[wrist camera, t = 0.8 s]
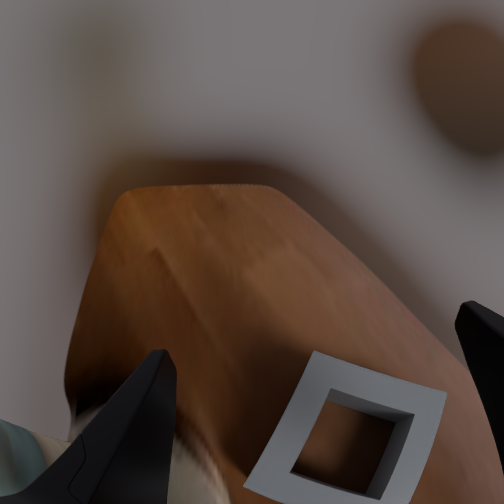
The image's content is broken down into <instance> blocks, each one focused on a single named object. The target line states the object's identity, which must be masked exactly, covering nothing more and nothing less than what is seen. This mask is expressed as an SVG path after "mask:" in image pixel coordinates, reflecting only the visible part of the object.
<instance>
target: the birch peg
mask: <svg viewBox="0 0 504 504" xmlns="http://www.w3.org/2000/svg"><path fill="white" fill-rule="evenodd" d="M70 445H71V443H69V442H66V441H62V440H58V439H54V438H51V437H47V436H44V435H41V434H37V433H34V432H31V431H28V430H26V429H24V428H22V427H20V426H17V425H14V424H11V423H9V422H6V421H4V420H1V419H0V496H6V495H11V494H15V493H17V492H19V491H21V490H23V489H25V488H26V487H27V486H29V485H30V484H31V483H32V482H33V481H34V480H35V479H36V478H37V477H38V476H39V475H40V474H42V473H43V472H44V471H45V470H46V469H47V468H48V467H49V466H50V465H51V464H52V463H53V462H54V461H55V460H56V459H57V458H58V457H59V456H60V455H61V454H62V453H63V452H64V451H65V450H66V449H67V448H68V447H69V446H70Z"/></svg>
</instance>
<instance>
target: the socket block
mask: <svg viewBox="0 0 504 504" xmlns="http://www.w3.org/2000/svg"><path fill="white" fill-rule="evenodd" d="M446 396H447V392H443V391H439V390H435V389H432V388H428V387H425V386H421V385H418V384H414V383H411V382H407V381H404V380H401V379H398V378H394V377H391V376H388V375H385V374H381V373H378V372H375V371H372V370H369V369H366V368H363V367H360V366H357V365H354V364H351V363H348V362H345V361H342V360H339V359H337V358H334V357H331V356H328V355H325V354H323V353H320V352H317V351H313V353H312V355H311V358H310V360H309V362H308V364H307V366H306V369H305V371H304V373H303V375H302V377H301V379H300V381H299V384H298V386H297V388H296V390H295V392H294V394H293V396H292V398H291V400H290V402H289V404H288V406H287V408H286V410H285V412H284V414H283V416H282V418H281V420H280V422H279V424H278V426H277V427H276V429H275V431H274V433H273V435H272V437H271V439H270V440H269V442H268V444H267V446H266V448H265V450H264V451H263V453H262V455H261V457H260V458H259V460H258V462H257V464H256V465H255V467H254V469H253V470H252V472H251V474H250V476H249V477H248V479H247V481H246V482H245V484H244V486H243V487H245V488H247V489H250V490H252V491H254V492H256V493H259V494H261V495H263V496H266V497H268V498H271V499H273V500H276V501H278V502H281V503H283V504H409V502H410V500H411V497H412V495H413V493H414V491H415V489H416V486H417V484H418V482H419V479H420V477H421V474H422V472H423V469H424V467H425V464H426V461H427V459H428V456H429V453H430V450H431V448H432V445H433V442H434V439H435V436H436V432H437V429H438V426H439V423H440V419H441V416H442V412H443V408H444V404H445V401H446ZM325 400H326V401H329V402H332V403H335V404H338V405H341V406H344V407H347V408H350V409H353V410H356V411H359V412H362V413H365V414H368V415H371V416H375V417H378V418H381V419H385V420H388V421H392V422H395V426H394V429H393V431H392V434H391V437H390V439H389V442H388V444H387V447H386V449H385V452H384V454H383V456H382V459H381V461H380V463H379V466H378V468H377V470H376V472H375V474H374V477H373V479H372V481H371V483H370V485H369V487H368V489H367V491H366V493H365V494H363V493H359V492H355V491H351V490H348V489H344V488H341V487H338V486H334V485H331V484H328V483H325V482H322V481H319V480H316V479H313V478H310V477H307V476H304V475H302V474H299V473H296V472H294V471H291V469H292V467H293V465H294V463H295V461H296V460H297V458H298V456H299V454H300V452H301V450H302V448H303V446H304V444H305V442H306V440H307V438H308V436H309V434H310V432H311V430H312V428H313V426H314V424H315V422H316V420H317V418H318V415H319V413H320V411H321V409H322V407H323V404H324V402H325Z"/></svg>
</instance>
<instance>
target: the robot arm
mask: <svg viewBox="0 0 504 504" xmlns="http://www.w3.org/2000/svg"><path fill="white" fill-rule="evenodd" d="M455 330H456V332H457V335H458V338H459V341H460V344H461V347H462V350H463V353H464V356H465V359H466V362H467V365H468V367H469V370H470V373H471V375H472V378H473V380H474V383H475V385H476V388H477V390H478V393H479V395H480V398H481V401H482V403H483V406H484V409H485V412H486V415H487V418H488V421H489V424H490V427H491V430H492V433H493V436H494V439H495V443H496V446H497V450H498V454H499V457H500V461H501V465H502V470H503V474H504V317H502V316H501V315H499V314H497V313H495V312H493V311H492V310H490V309H488V308H486V307H484V306H482V305H481V304H479V303H477V302H475V301H467V302H464V303H462V304H461V306H460V309H459V312H458V314H457V318H456V320H455ZM176 382H177V371H176V367H175V365H174V363H173V361H172V359H171V357H170V355H169V353H168V351H167V350H165V349H161V350H153V351H151V352H150V354H149V355H148V356H147V357H146V358H145V359H144V360H143V362H142V363H141V364H140V365H139V366H138V367H137V368H136V370H135V371H134V372H133V373H132V374H131V375H130V376H129V378H128V379H127V380H126V381H125V382H124V383H123V384H122V386H121V387H120V388H119V389H118V390H117V391H116V393H115V394H114V395H113V396H112V397H111V398H110V399H109V401H108V402H107V403H106V404H105V405H104V406H103V408H102V409H101V410H100V411H99V412H98V413H97V415H96V416H95V417H94V418H93V419H92V420H91V421H90V423H89V424H88V425H87V426H86V427H85V428H84V430H83V431H82V434H79V435H78V436H77V438H76V439H75V440H74V441H73V442H72V443H71V445H70V446H69V447H68V448H67V449H66V450H65V451H64V452H63V453H62V454H61V455H60V456H59V457H58V458H57V459H56V460H55V461H54V462H53V463H52V464H51V465H50V466H49V467H48V468H47V469H46V470H45V471H44V472H43V473H42V474H40V475H39V476H38V477H37V478H36V479H35V480H34V481H33V482H32V483H31V484H30V485H29V486H27V487H26V488H25V489H23V490H21V491H19V492H17V493H15V494H11V495H6V496H0V504H167V493H168V483H169V473H170V464H171V455H172V446H173V438H174V430H175V422H176Z"/></svg>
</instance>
